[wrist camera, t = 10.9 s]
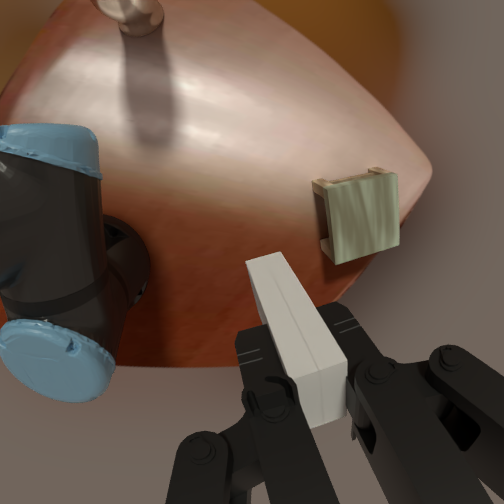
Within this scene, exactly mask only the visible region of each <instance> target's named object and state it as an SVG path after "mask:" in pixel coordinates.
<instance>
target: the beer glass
mask: <svg viewBox="0 0 504 504" xmlns="http://www.w3.org/2000/svg"><path fill="white" fill-rule="evenodd" d="M90 1H91V2H92V4H93V5H94V6H95V7H96V9H97V10H99V11H100V12H101V13H102V14H103V15H105V16H106V17H108V18H110V19H112V20H115V21H117V22H118V25H119V28H120V29H121V31H122V32H123V33H125V34H126V35H129V36H133V37H140V36H144V35H147V34H149V33H151V32H153V31H154V30H155V29H156V28H157V27H158V26H159V25H160V24H161V22H162V20H163V16H164V10H163V7H162V5H161V4H160V3H159V2H158V0H90Z"/></svg>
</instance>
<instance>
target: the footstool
mask: <svg viewBox="0 0 504 504" xmlns="http://www.w3.org/2000/svg"><path fill="white" fill-rule="evenodd" d="M368 171H369V173H366V174H361V175H356V176H352V177H347V178H343V179H338V180H333V181H329V182H328V181H326V180H324V179H317V180H313V181H312V185H313V191H314V192H315V193H317V194H318V195H320V196H321V197H323V198H324V200H325V208H326V216H327V224H328V232H329V238H326V239H322V240H320V243H321V249H322V251H323V252H324V253H325V254H326V255H327V256H328V257H329V258H330V259H331V260H332V262H333V263H334V264H335V265H337V264H341V263H344V262H347V261H350V260H354V259H357V258H360V257H363V256H366V255H369V254H373V253H376V252H379V251H382V250H385V249H388V248H391V247H394V246H397V245H399V197H398V178H397V174H395V173H392V172H390V171H387V170H384V169H381V168H378V167H374V168H369V169H368Z"/></svg>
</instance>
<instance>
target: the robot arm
mask: <svg viewBox="0 0 504 504" xmlns="http://www.w3.org/2000/svg"><path fill="white" fill-rule="evenodd" d="M101 180H103V176H102V174H101V173H100V166H99V150H98V141H97V138H96V136H95V134H94V133H93V132H92V131H91V130H90V129H88V128H86V127H83V126H78V125H70V124H53V123H30V124H12V125H9V126H8V125H3V126H0V296H1V299H2V302H3V306H4V309H5V311H6V314H7V320H8V321H7V323H5V325H4V326H3V327H2V328H1V330H0V356H1V358H2V360H3V362H4V364H5V365H6V367H7V368H8V369H9V371H10V372H11V373H12V374H13V375H14V376H15V377H16V378H17V379H18V380H19V381H20V382H22V383H23V384H24V385H26V386H27V387H29V388H30V389H32V390H34V391H36V392H37V393H39V394H41V395H43V396H46V397H49V398H51V399H54V400H58V401H62V402H69V403H83V402H88V401H92V400H94V399H96V398H97V397H98V396H100V395H102V394H103V393H104V392H105V391H106V389H107V388H108V385H109V383H110V379H111V376H112V374H113V373H114V370H115V360H116V356H117V351H118V347H119V342H120V338H121V334H122V330H123V326H124V321H125V317H126V313H127V311H128V310H129V309H130V308H131V307H132V306H133V305H135V304H136V303H137V302H138V300H139V299H140V298H141V296H142V295H143V293H144V291H145V289H146V286H147V283H148V279H149V274H150V259H149V255H148V251H147V249H146V246H145V244H144V242H143V241H142V239H141V238H140V236H139V235H138V234H137V233H136V232H135V231H134V230H133V229H132V228H131V227H130V226H129V225H127V224H126V223H125V222H123V221H121V220H119V219H117V218H115V217H112V216H108V215H103V212H102V197H101ZM246 265H247V269H248V273H249V277H250V281H251V285H252V289H253V293H254V296H255V300H256V304H257V308H258V312H259V315H260V318H261V321H262V324H263V325H260V326H257V327H253V328H250V329H246V330H242V331H239V332H238V334H237V337H236V340H235V348H236V352H237V356H238V362H239V365H240V371H241V375H242V380H243V384H244V389H243V391H242V399H241V400H242V403H243V405H244V408H245V410H246V412H245V413H244V415H243V417H242V418H241V419H240V420H239V421H238V423H236V424H234V425H233V426H231V427H230V428H228V429H226V430H224V431H222V432H220V433H219V434H216V433H215V432H209V431H201V432H196V433H193V434H191V435H189V436H187V437H186V438H185V439H184V440H183V441H182V442H181V443H180V445H179V447H178V450H177V452H176V457H175V461H174V466H173V470H172V475H171V480H170V484H169V489H168V493H167V498H166V503H165V504H251V490H252V488H253V487H255V486H256V485H258V484H260V483H262V482H264V481H265V485H266V489H267V493H268V496H269V500H270V504H340V503H339V501H338V498H337V496H336V493H335V491H334V488H333V486H332V483H331V481H330V478H329V476H328V473H327V471H326V468H325V466H324V463H323V461H322V459H321V456H320V453H319V450H318V448H317V445H316V443H315V440H314V438H313V435H312V433H311V430H310V428H314V427H316V426H319V425H323V424H325V423H328V422H331V421H334V420H336V419H339V418H342V417H344V416H346V415H347V409H348V411H349V413H350V415H351V417H352V431H351V437H352V440H355V439H356V436H357V438H358V440H359V443H360V445H361V447H362V449H363V451H364V453H365V455H366V457H367V459H368V461H369V463H370V465H371V467H372V469H373V471H374V474H375V475H376V478H377V480H378V482H379V484H380V486H381V488H382V490H383V492H384V494H385V496H386V499H387V501H388V503H389V504H493V502H492V500H491V499H490V497H489V496H488V494H487V492H486V490H485V489H484V487H483V486H482V484H481V482H480V481H479V479H480V480H481V481H482V482H483V483H484V484H486V485H487V486H488V487H489V488H490V489H491V490H492V491H493V492H495V493H496V494H497V495H498V496H499V497H500V498H501V499H503V500H504V377H503V376H502V375H500V374H499V373H498V372H497V371H495V370H493V369H492V368H490V367H489V366H488V365H486V364H485V363H484V362H482V361H481V360H479V359H478V358H476V357H475V356H473V355H472V354H470V353H469V352H468V351H466V350H465V349H463V348H460V347H459V346H456V345H443V346H440V347H439V348H437V349H435V350H434V351H433V352H432V354H431V355H430V357H429V360H426V361H421V362H415V363H407V364H401V363H397V362H396V361H395V360H394V359H391V358H388V357H384V356H383V355H382V354H381V353H380V352H379V350H378V349H377V347H376V346H375V344H374V343H373V342H372V340H371V339H370V338H369V336H368V335H367V334H366V332H365V331H364V329H363V328H362V327H361V326H360V324H359V323H358V321H357V320H356V319H355V318H354V316H353V315H352V313H351V312H350V311H349V309H348V308H347V307H345V306H343V305H342V304H339V303H338V302H336V301H335V302H332V303H329V304H326V305H323V306H320V307H316V308H315V306H314V305H313V303H312V301H311V300H310V298H309V296H308V295H307V293H306V292H305V290H304V288H303V287H302V285H301V284H300V282H299V280H298V279H297V277H296V276H295V274H294V272H293V271H292V269H291V268H290V266H289V264H288V263H287V261H286V260H285V258H284V257H283V255H282V253H281V252H277V253H273V254H269V255H266V256H262V257H259V258H255V259H251V260H248V261H246ZM477 477H478V478H479V479H478V478H477Z"/></svg>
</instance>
